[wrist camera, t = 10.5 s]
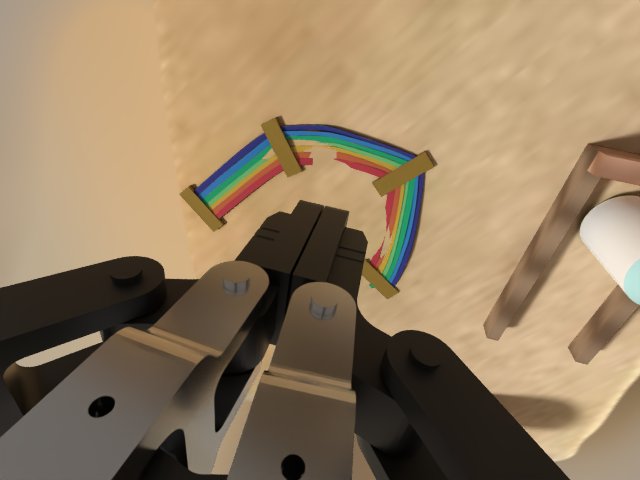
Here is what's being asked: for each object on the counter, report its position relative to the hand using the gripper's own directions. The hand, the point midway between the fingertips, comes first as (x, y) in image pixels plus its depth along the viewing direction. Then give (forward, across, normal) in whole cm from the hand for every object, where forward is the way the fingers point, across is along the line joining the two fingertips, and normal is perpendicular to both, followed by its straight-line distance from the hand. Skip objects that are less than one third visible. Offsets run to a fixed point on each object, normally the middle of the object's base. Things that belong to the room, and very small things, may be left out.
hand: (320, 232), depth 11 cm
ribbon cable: (+31, +3, +17) cm, 36 cm away
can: (+31, -28, +8) cm, 43 cm away
